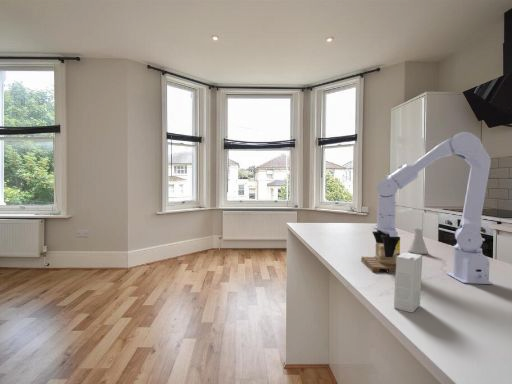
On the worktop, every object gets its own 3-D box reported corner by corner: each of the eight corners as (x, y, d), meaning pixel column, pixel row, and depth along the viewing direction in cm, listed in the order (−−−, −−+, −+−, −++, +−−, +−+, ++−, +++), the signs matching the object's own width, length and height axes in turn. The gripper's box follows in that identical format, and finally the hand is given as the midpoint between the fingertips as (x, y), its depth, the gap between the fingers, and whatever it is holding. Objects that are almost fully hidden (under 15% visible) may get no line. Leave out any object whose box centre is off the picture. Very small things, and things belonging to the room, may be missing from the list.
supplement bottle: (396, 254, 125) (397, 230, 125) (401, 257, 120) (402, 232, 120) (383, 253, 126) (383, 229, 126) (387, 256, 121) (388, 232, 120)
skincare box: (401, 300, 75) (402, 251, 75) (421, 305, 72) (423, 254, 72) (392, 308, 71) (394, 255, 70) (414, 314, 68) (416, 259, 67)
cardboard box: (395, 264, 103) (396, 246, 103) (380, 263, 103) (380, 245, 103) (390, 260, 108) (390, 243, 108) (375, 259, 108) (375, 242, 108)
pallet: (411, 273, 98) (411, 268, 98) (373, 272, 99) (373, 266, 99) (394, 262, 112) (395, 257, 112) (361, 261, 113) (361, 256, 113)
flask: (404, 251, 131) (405, 228, 130) (416, 250, 134) (416, 227, 134) (419, 255, 124) (420, 230, 124) (431, 253, 127) (432, 229, 127)
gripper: (367, 212, 113) (366, 249, 113) (381, 216, 98) (380, 259, 99) (387, 212, 112) (386, 249, 112) (404, 217, 98) (402, 259, 98)
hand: (385, 254), depth 105 cm, fingers open, 7 cm apart
